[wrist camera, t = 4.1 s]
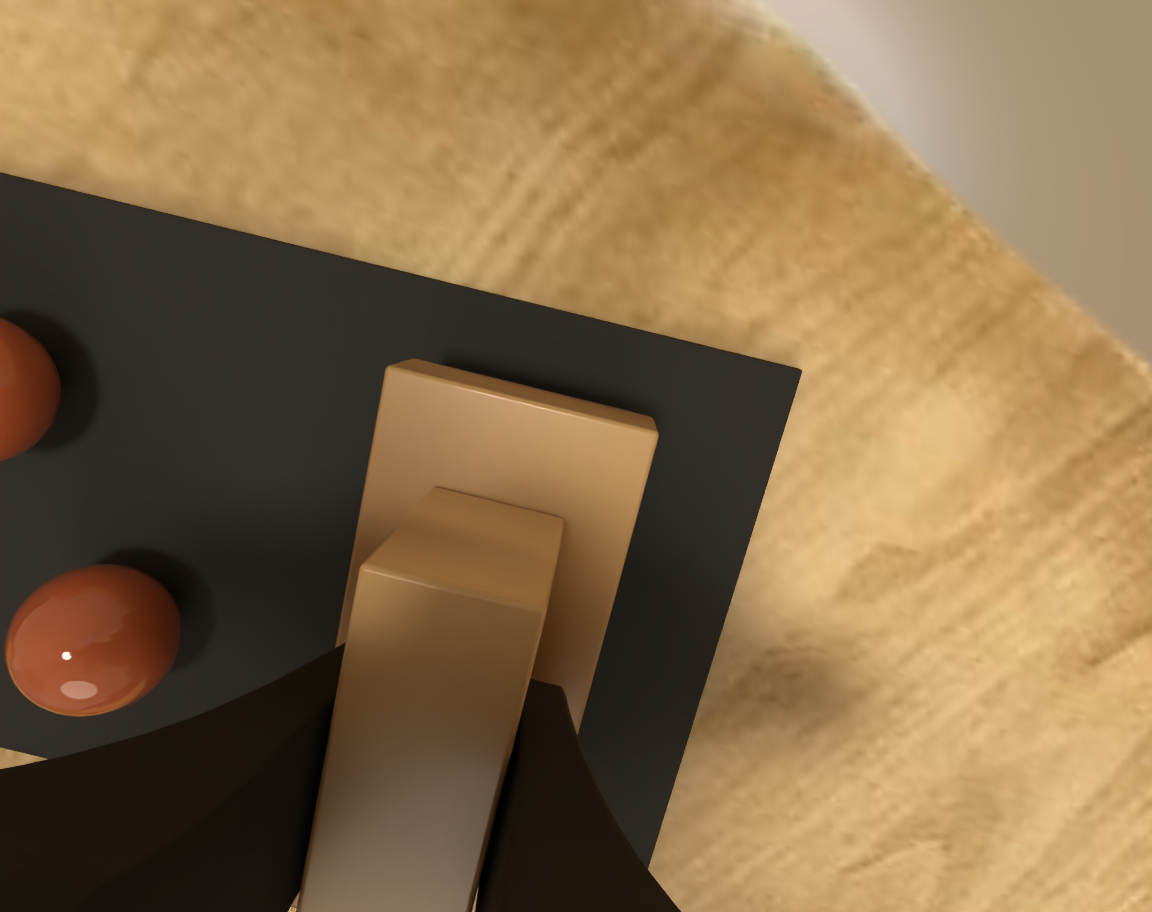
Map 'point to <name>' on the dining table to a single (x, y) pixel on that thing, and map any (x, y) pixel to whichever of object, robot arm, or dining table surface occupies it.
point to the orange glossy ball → (25, 390)
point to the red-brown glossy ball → (93, 640)
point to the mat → (336, 461)
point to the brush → (462, 621)
